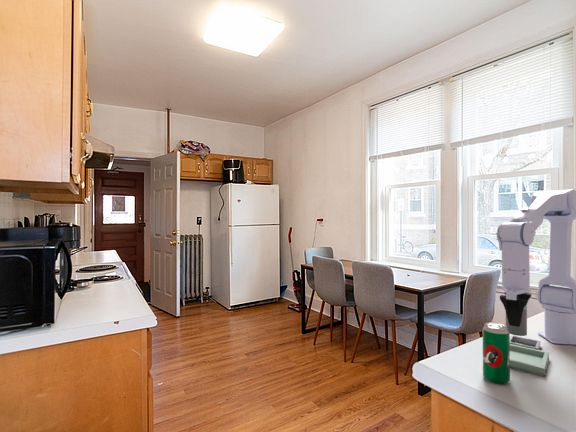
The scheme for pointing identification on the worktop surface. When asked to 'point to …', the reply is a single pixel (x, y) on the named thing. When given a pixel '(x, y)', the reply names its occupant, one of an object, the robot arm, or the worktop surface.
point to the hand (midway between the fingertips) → (516, 323)
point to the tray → (528, 360)
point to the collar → (525, 342)
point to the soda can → (496, 353)
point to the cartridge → (522, 328)
